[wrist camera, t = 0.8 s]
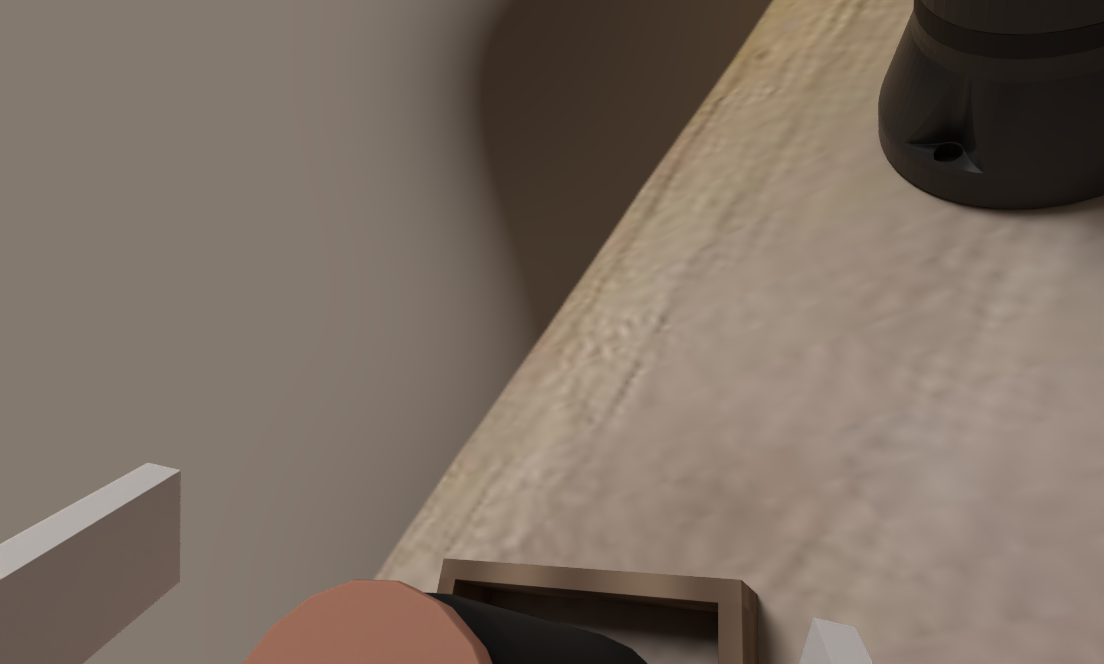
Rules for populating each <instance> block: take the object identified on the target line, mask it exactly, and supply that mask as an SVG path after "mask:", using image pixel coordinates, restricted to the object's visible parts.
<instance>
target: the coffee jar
mask: <svg viewBox="0 0 1104 664" xmlns="http://www.w3.org/2000/svg"><path fill="white" fill-rule="evenodd" d="M243 664H647V663H646V662H645V661H644V660H643V659H642V658H641V657H640V656H639V655H638V654H637V653H636V652H635V651H634V650H633V649H631V648H629V647H627V646H625V645H623V644H620V643H618V642H616V641H614V640H612V639H610V638H608V637H605V636H603V635H600V634H597V633H593V632H589V631H586V630H582V629H578V628H574V627H571V626H567V625H563V624H560V623H556V622H552V621H548V620H545V619H541V618H537V617H533V616H530V615H526V614H522V613H519V612H515V611H511V610H507V609H504V608H500V607H496V606H493V605H489V604H485V603H481V602H478V601H474V600H470V599H467V598H463V597H459V596H455V595H452V594H444V593H424V592H422V591H420V590H418V589H416V588H414V587H412V586H410V585H407V584H405V583H403V582H400V581H386V580H360V579H356V580H353V581H350V582H347V583H344V584H342V585H339V586H336V587H334V588H331V589H328V590H326V591H323V592H320V593H318V594H315V595H312V596H311V597H309V598H308V599H307V600H306V601H304V602H303V603H302V604H300V605H299V606H298V607H297V608H295V609H294V610H293V611H291V612H290V613H289V614H288V615H287V616H285V617H284V618H283V619H281V620H280V621H279V622H277V623H276V624H275V625H274V626H272V627H271V628H270V630H269V631H268V632H267V633H266V635H265V636H264V637H263V638H262V640H261V641H260V642H259V644H258V645H257V646H256V648H255V649H254V650H253V651H252V652H251V654H250V655H249V656H248V658H247V659H246V660H245V661H244V663H243Z"/></svg>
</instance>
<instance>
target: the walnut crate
mask: <svg viewBox="0 0 1104 664" xmlns="http://www.w3.org/2000/svg"><path fill="white" fill-rule="evenodd" d="M492 591H503V592H513V593H524V594H534V595H544V596H555V597H565V598H576V599H586V600H597V601H607V602H617V603H628V604H638V605H649V606H659V607H670V608H680V609H690V610H701V611H711V612H718V664H759V659H758V624H757V593H755V592H754V591H753V590H752V589H751V588H750V587H749V586H747V585H746V584H745V583H744V582H743V581H742V580H734V579H721V578H707V577H693V576H679V575H665V574H651V573H637V572H623V571H609V570H596V569H582V568H568V567H554V566H540V565H526V564H512V563H498V562H484V561H471V560H457V559H444V560H443V565H442V570H441V575H440V580H439V585H438V590H437V593H444V594H452V595H455V596H459V597H463V598H467V599H470V600H474V601H478V602H481V603H485V604H489V605H490V602H491V596H492Z"/></svg>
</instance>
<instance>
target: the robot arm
mask: <svg viewBox="0 0 1104 664" xmlns="http://www.w3.org/2000/svg"><path fill="white" fill-rule="evenodd" d="M878 122H879V138H880V143H881V146H882V149H883V151H884V153H885V155H886V157H887V158H888V160H889V161H890V163H891V164H892V165H893V167H894V168H895V169H896V170H897V171H898V172H899V173H900V174H901V175H902V176H904V177H905V178H906V179H907V180H909V181H910V182H912V183H913V184H915V185H916V186H918V187H920V188H922V189H924V190H926V191H928V192H930V193H932V194H934V195H937V196H940V197H942V198H945V199H948V200H952V201H955V202H959V203H964V204H968V205H974V206H980V207H989V208H1002V209H1027V208H1041V207H1050V206H1057V205H1063V204H1069V203H1073V202H1078V201H1082V200H1086V199H1090V198H1093V197H1097V196H1100V195H1103V194H1104V0H914V9H913V12H912V14H911V16H910V19H909V21H908V23H907V26H906V28H905V31H904V33H903V35H902V38H901V40H900V42H899V45H898V47H897V49H896V52H895V54H894V57H893V59H892V61H891V64H890V66H889V68H888V71H887V73H886V75H885V78H884V81H883V84H882V87H881V91H880V96H879V103H878ZM180 473H181V472H180V470H177V469H173V468H168V467H164V466H160V465H155V464H151V463H146V464H145V465H143V466H141V467H139V468H137V469H136V470H134V471H132V472H130V473H128V474H126V475H125V476H123V477H121V478H119V479H117V480H115V481H114V482H112V483H110V484H108V485H106V486H105V487H103V488H101V489H99V490H97V491H96V492H94V493H92V494H90V495H88V496H86V497H85V498H83V499H81V500H79V501H77V502H76V503H74V504H72V505H70V506H68V507H67V508H65V509H63V510H61V511H59V512H57V513H56V514H54V515H52V516H50V517H48V518H47V519H45V520H43V521H41V522H39V523H37V524H36V525H34V526H32V527H30V528H29V529H27V530H25V531H23V532H21V533H19V534H17V535H16V536H14V537H12V538H10V539H8V540H7V541H5V542H3V543H1V544H0V664H83V663H84V662H85V661H86V660H87V659H89V658H90V657H91V656H92V655H93V654H95V653H96V652H97V651H98V650H99V649H100V648H101V647H103V646H104V645H105V644H106V643H108V642H109V641H110V640H111V639H112V638H114V637H115V636H116V635H117V634H118V633H119V632H121V631H122V630H123V629H124V628H125V627H126V626H128V625H129V624H130V623H131V622H132V621H134V620H135V619H136V618H137V617H138V616H140V615H141V614H142V613H143V612H144V611H145V610H147V609H148V608H149V607H150V606H151V605H153V604H154V603H155V602H156V601H157V600H158V599H160V598H161V597H162V596H163V595H164V594H165V593H167V592H168V591H169V590H170V589H172V588H173V587H174V586H175V585H176V584H177V583H178V582H180V480H181V474H180ZM799 664H873V663H872V661H871V659H870V657H869V654H868V652H867V650H866V648H865V646H864V644H863V642H862V640H861V638H860V636H859V634H858V632H857V630H856V627H853V626H849V625H844V624H840V623H836V622H831V621H827V620H823V619H819V618H813V621H812V624H811V627H810V631H809V634H808V637H807V640H806V643H805V646H804V650H803V653H802V656H801V659H800V662H799Z"/></svg>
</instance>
